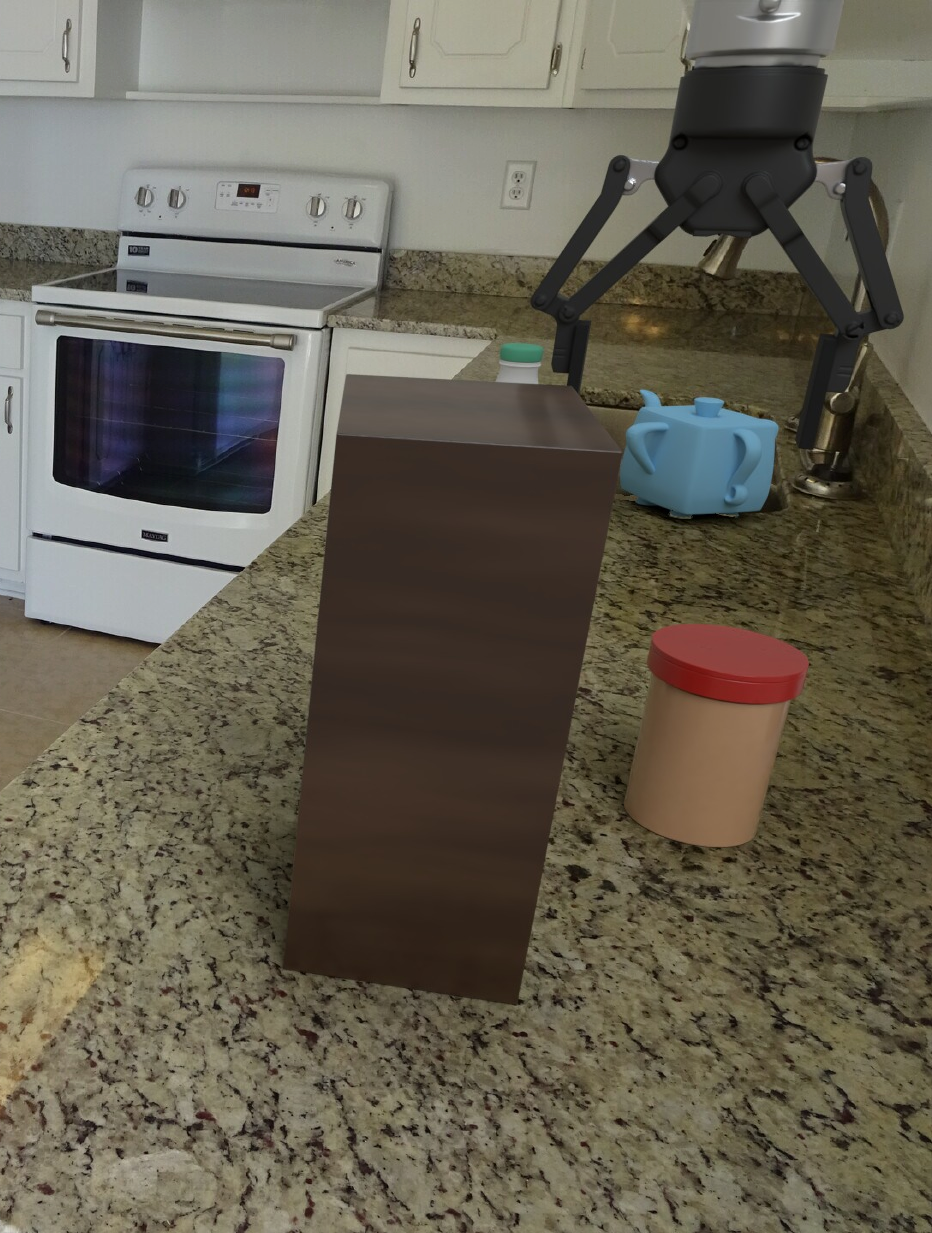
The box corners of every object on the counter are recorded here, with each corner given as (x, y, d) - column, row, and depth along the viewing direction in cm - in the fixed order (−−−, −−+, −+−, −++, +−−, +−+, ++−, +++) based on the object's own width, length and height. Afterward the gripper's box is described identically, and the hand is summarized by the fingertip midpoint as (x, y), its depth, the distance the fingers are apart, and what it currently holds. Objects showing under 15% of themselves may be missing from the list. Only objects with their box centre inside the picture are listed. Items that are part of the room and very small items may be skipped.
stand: (517, 1005, 64) (623, 451, 53) (282, 969, 67) (336, 433, 56) (492, 847, 79) (572, 385, 67) (300, 822, 81) (346, 373, 70)
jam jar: (751, 801, 85) (792, 644, 80) (761, 858, 78) (806, 690, 73) (624, 777, 88) (656, 625, 83) (622, 830, 81) (657, 668, 76)
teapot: (776, 507, 154) (803, 398, 149) (745, 536, 142) (772, 418, 137) (623, 482, 164) (643, 379, 159) (582, 507, 153) (602, 397, 148)
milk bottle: (531, 527, 144) (559, 352, 137) (461, 520, 147) (486, 348, 139) (530, 510, 151) (557, 342, 143) (464, 504, 153) (487, 338, 146)
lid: (795, 662, 81) (802, 636, 80) (811, 715, 73) (818, 687, 73) (646, 640, 84) (651, 615, 83) (646, 688, 77) (652, 661, 76)
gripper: (518, 65, 73) (470, 427, 81) (1035, 56, 63) (922, 467, 71) (530, 72, 79) (484, 407, 87) (1003, 64, 69) (902, 441, 77)
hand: (681, 435), depth 79 cm, fingers open, 13 cm apart
